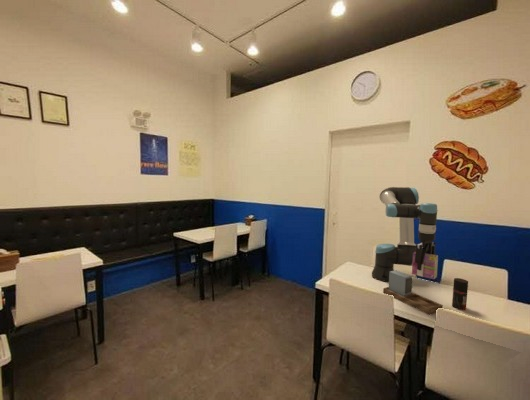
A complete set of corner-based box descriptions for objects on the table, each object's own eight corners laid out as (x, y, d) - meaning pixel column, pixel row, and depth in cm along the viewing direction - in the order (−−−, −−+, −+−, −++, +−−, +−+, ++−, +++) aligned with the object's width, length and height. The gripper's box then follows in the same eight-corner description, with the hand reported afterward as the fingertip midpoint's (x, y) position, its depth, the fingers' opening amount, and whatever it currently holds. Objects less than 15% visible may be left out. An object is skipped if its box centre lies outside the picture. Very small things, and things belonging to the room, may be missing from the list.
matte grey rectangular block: (388, 291, 148) (389, 271, 147) (395, 289, 151) (396, 270, 150) (405, 298, 139) (406, 278, 138) (411, 296, 141) (413, 276, 140)
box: (411, 274, 134) (412, 252, 133) (414, 271, 138) (416, 251, 137) (434, 279, 126) (435, 257, 126) (436, 277, 130) (438, 255, 130)
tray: (383, 292, 148) (383, 288, 148) (395, 289, 153) (395, 285, 153) (429, 315, 124) (430, 309, 124) (442, 310, 129) (442, 305, 129)
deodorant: (461, 311, 129) (464, 283, 127) (449, 305, 134) (451, 279, 133) (468, 309, 131) (470, 281, 130) (456, 303, 136) (458, 277, 135)
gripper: (422, 235, 123) (419, 280, 124) (445, 232, 132) (442, 274, 133) (408, 232, 129) (405, 275, 131) (430, 229, 138) (427, 269, 140)
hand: (424, 274), depth 132 cm, fingers closed on box, 7 cm apart
